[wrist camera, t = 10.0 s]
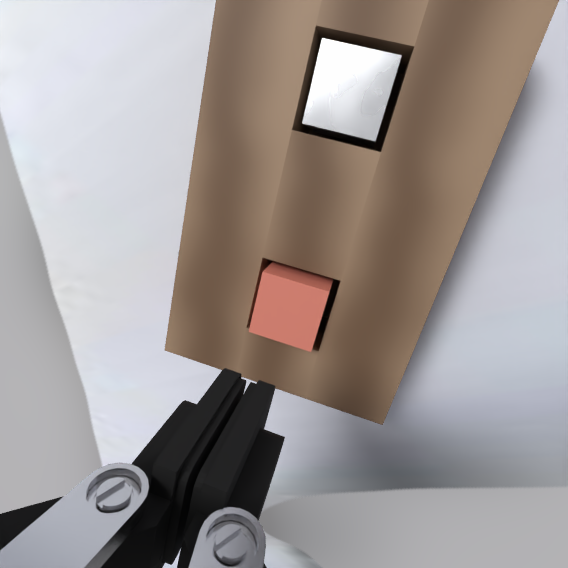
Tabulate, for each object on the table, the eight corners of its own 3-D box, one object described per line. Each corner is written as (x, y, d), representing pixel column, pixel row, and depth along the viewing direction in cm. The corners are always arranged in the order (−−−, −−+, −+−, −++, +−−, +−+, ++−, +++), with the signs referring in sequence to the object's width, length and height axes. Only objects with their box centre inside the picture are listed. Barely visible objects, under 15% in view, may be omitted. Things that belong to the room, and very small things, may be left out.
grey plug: (394, 79, 20) (401, 55, 16) (373, 146, 22) (375, 141, 17) (331, 65, 21) (322, 38, 17) (314, 131, 22) (302, 123, 18)
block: (512, 29, 20) (569, -25, 14) (379, 372, 27) (382, 425, 22) (264, -20, 21) (228, -86, 16) (203, 314, 29) (164, 350, 23)
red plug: (336, 268, 23) (329, 291, 19) (321, 318, 24) (311, 352, 20) (282, 252, 24) (262, 271, 19) (269, 302, 25) (248, 331, 20)
